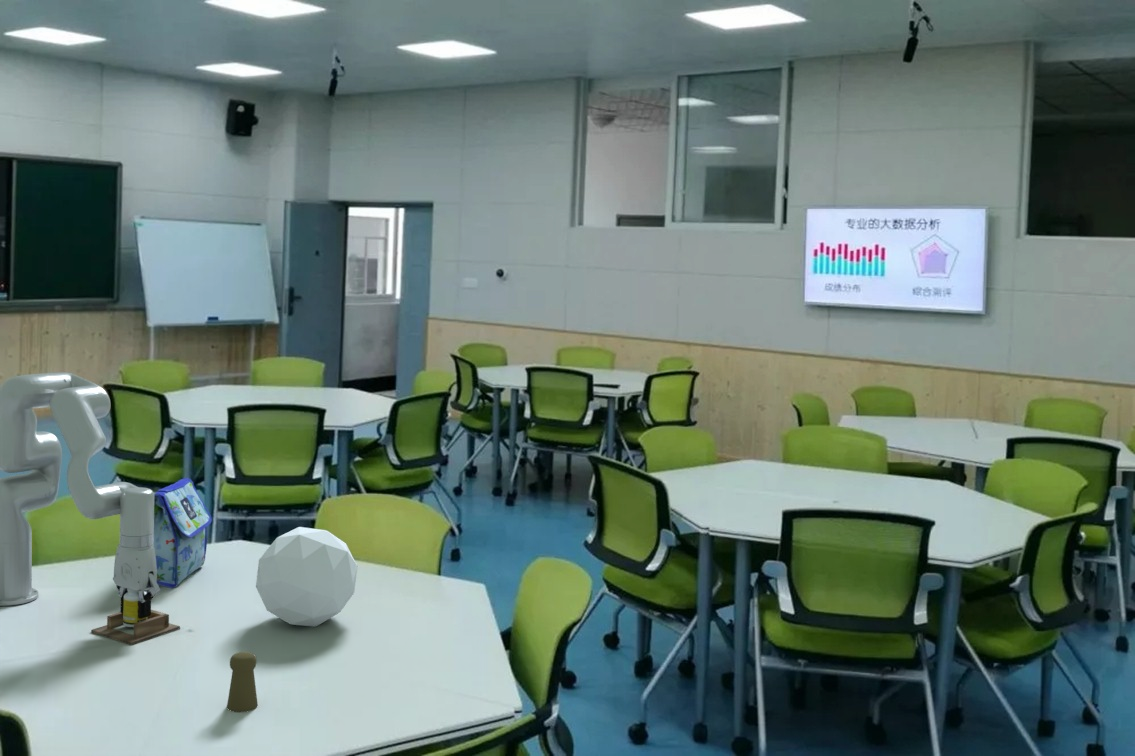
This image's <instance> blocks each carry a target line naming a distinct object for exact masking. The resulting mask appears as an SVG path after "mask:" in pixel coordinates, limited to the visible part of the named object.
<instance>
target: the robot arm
mask: <svg viewBox="0 0 1135 756" xmlns="http://www.w3.org/2000/svg"><path fill="white" fill-rule="evenodd" d="M111 404H112V403H111V399H110V396H109V394H108V392H106V390H105V389H104V388H103V387H102V386H100V385H98V384H96V383H94V382H93V381H90V380H88V379H85V378H84V377H81V376H79V375H77V374H74V373H71V372H65V371H64V372H63V371H62V372H59V371H58V372H57V371H56V372H46V373H45V372H43V373H32V374H31V373H29V374H22V375H16V376H12V377H10V378H8V379H6V380H5V381H4V382H2V384H1V386H0V471H2V472H3V473H8V474H9V473H10V474H11V473H12V474H13V473H14V475H9V476H4V477H0V607H1V606H3V607H4V606H6V607H7V606H16V605H17V606H18V605H21V604H26V603H30V602H32V601H34V600H37V598H39V591H38V590H37V589H36V588H33V587H32V586H33V585H32V584H33V583H32V580H33V578H32V577H33V566H32V564H33V563H32V562H33V561H32V559H33V558H32V555H33V552H32V551H33V549H32V547H33V546H32V545H33V544H32V543H33V540H32V538H33V537H32V536H33V535H32V527H31V525H30V523H29V521H28V520H27V518H26V517H25V515H24V513H25V512H26V513H27V512H28V511H34V510H39V509H43V508H46V507H49V506H51V505H52V504H54V502H55V501H56V499H57V497H58V493H59V487H60V479H61V470H62V469H61V468H62V461H63V449H62V445H61V442H60V440H59V438H58V437H57V436H56V435H55V434H54V433H52V432H50V431H43V430H41V431H37V429H38V428H37V427H38V418H37V414H36V412H35V410H33V409H40V408H49V409H50V411H51V414H52V415H53V418H54V420H55V422H56V425H57V427H58V430H59V431H60V433H61V435H62V437H63V439H64V441H65V443H66V445H67V449H68V450H69V452H70V460H69V462H68V466H67V471H66V485H67V489H68V492H69V494H70V496H71V499H72V500H73V502H74V504H75V505H74V506H75V507H76V508H77V510H78V511H79V512H80V513H81V515H82V516H84V518H86V519H89V520H98V519H103V518H107V517H112V516H117V515H119V544H117V547H116V552H115V557H114V563H113V564H114V566H113V577H112V581H113V582H114V584H115V585H116V589H117V590H118V596H119V597H120V606H119V607H120V608H119V609H120V611H119V612H121V613H123V605H124V595H125V594H126V593H127V592H128V591H127V589H130V590H134V591H139V596H140V601H141V602H139V603H138V618H140V619H142V618H145V617H148V616H150V615H151V610H152V601H153V600H154V597H155V596H156V595H157V594H158V593H159V592H160V590H161V589H160V585H158V584H157V582H156V580H157V567H156V556H155V549H154V547H153V546H154V494H155V492H154V491H153V490H152V489H151V488H147V487H139V486H136V485H135V484H133V483H131V482H126V481H119V482H118V481H117V482H114V483H113V482H112V483H107V484H102V485H97V486H95V484H94V483H93V481H92V479H91V477H90V474H89V462H90V459H91V458H92V457H94V456H95V455H96V454H97V453H99V452H100V451H101V450H103V449H104V448H105V447H106V445H107V441H108V440H107V438H106V435H105V434H104V431H103V429H102V427H101V425H100V422H99V420H98V419H102V418H105V417H106V416H107V415H108V414H109V412H110V410H111ZM24 472H27V473H24ZM15 473H16V474H15ZM17 473H23V474H17ZM144 591H145V592H146V593H147V594H146V595H144Z"/></svg>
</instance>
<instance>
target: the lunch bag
mask: <svg viewBox="0 0 1135 756" xmlns="http://www.w3.org/2000/svg"><path fill="white" fill-rule="evenodd" d="M212 521H213V520H212V516H211V513H210V511H209V509H208V508H207V507H206V505H205V503H204V502H203V500H202V499H201V497H200V495H199V493H198V491H197V489H196V487H195V484H194V481H192V479H190V477H186V478H182V479H179V480H177V482H176V481H175V483H172V484H170V485H167V486H165V487H163V488H160V489H158V490H157V491H156V492H154V546H153V547H154V549H155V556H156V567H157V580H156V582H157V584H158V586H162V587H165V588H166V587H167V588H170V589H174V588H176V587H178V586H179V585H180V584H181V582H183V580H185V579H186V578H187V577H189V576H190V575H191V574H192V573H193V572H194V571H196V570H198V569H200V568H202V567H203V566H204V564H205V561H206V553H207V546H208V544H207V543H208V533H207V532H208V530H207V528H208V526H210V524H212Z"/></svg>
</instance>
